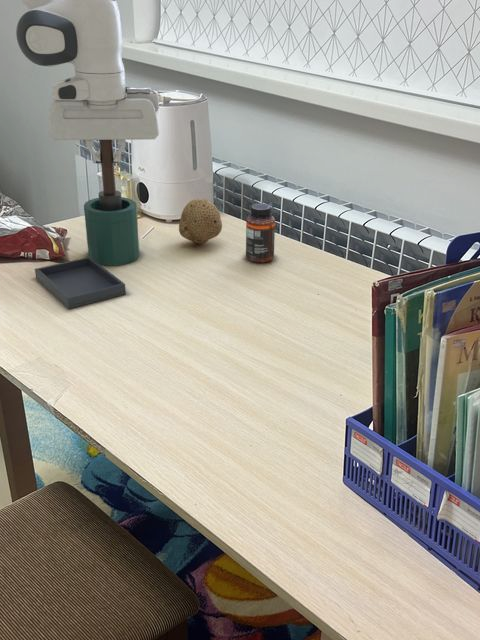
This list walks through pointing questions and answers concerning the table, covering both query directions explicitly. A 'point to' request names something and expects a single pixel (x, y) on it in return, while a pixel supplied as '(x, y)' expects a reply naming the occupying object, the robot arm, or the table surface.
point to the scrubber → (108, 179)
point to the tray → (80, 282)
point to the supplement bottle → (260, 233)
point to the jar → (112, 233)
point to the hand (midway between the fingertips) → (107, 162)
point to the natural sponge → (200, 221)
